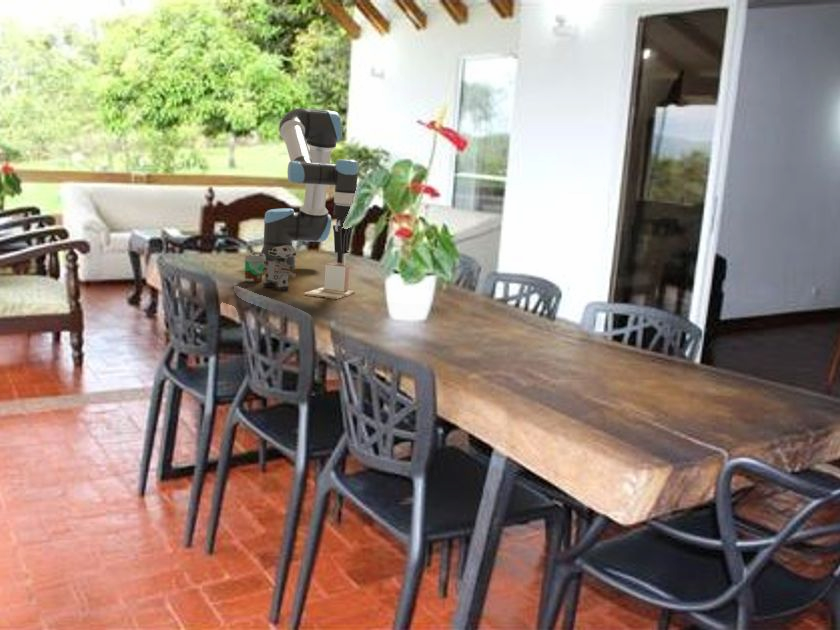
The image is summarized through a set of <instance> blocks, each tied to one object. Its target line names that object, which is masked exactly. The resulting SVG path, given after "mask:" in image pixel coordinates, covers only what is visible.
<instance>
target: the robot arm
mask: <svg viewBox="0 0 840 630" xmlns="http://www.w3.org/2000/svg"><path fill="white" fill-rule="evenodd" d="M340 116H341V115H340V114H339V113H338V112H337V111H334V110H333V111H332V110H328V109H315V108H314V109H313V108H305V107H298V108H294V109H292V110H290V111H288V112H287V113H286V114H285V115H284V116H283V117H282V119H281V120H280V122H279V125H278V126H279V134H280V137H281V139H282V140H283V141H284V143H285V146H286V150H287V154H288V157H289V160H290V161H289V163H288V165H287V179H288V181H289V183H290V182H291V183H293V184H294V183H297V184H301V185H302V184H305V190H304V191H305V192H304V201H303V204H302V205H300V207H299V211H298V212H295V210H294V208H287V207H286V208H283V207H282V208H274V209H273V208H272V209H269V210H267V211H265V213H264V219H263V223H264V226H263V228H264V229H263V244H262V245H263V246H262V249H261V252H260V253H263V254H265V257H266V259H267V258H270V259H271V260H270V259H267V265H268V262H269V261H274V260H275V258H276V257H275V256H272V255H269V253H268V251H269V250H270V249H271V248H274V247H279V246H284V245H290V246H293V242H313V243H318V242H319V243H320V242H321V243H322V242H325V241H326V240H327V239H328V238H329V236H330V233H331V229H333V242H334V243H333V244H334V246H333V247H334V253H335V254H337V255H336V264H340V265H346V261H347V258H346V257H347V254H349V253H350V247H351V240H352V233H353V229H354V225H353V226H352V227H350V228H348V229H344V228H342V227H343V223H344V221H345V218H346V216H347V214H348V211H349V209H350V206H351V204H352V201H353V197H354V194H355V191H356V192H357V190H356V187H357V185H358V177H359V176H358V174H359V163H358V161H357V160H351V159H337V161H336V163H331V157H332V151H333V150H334V149H335V148H336V146H337V143H339V142H341V141H342V137H343V130H342V129H343V127H342V119H341V117H340ZM328 186H335V187H334V197H333V203H334V205H333V216H336V217H337V218H336V223H335V225H334V224H333V225H332V216H331V214H329V210H328V209H327V208H326V201H327V194H328V193H327V192H328ZM331 227H332V228H331ZM295 257H296V256H291V257H287V258H288V259H287V260H286V263H287V265H291V266H292V267H291V269H292V268H295V267H296V262H297V261H296V258H295ZM277 261H282V262H285V260H279V259H277ZM264 262H265V261H264Z"/></svg>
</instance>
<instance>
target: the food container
mask: <svg viewBox="0 0 840 630" xmlns="http://www.w3.org/2000/svg"><path fill="white" fill-rule="evenodd" d="M265 260H266V257H265V254H263V253H261V252H258V251H252V252H251V254H249V255H245V256H244V284H259V283H262V282H263V274H264V269H263V267H264V261H265Z"/></svg>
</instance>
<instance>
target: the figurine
mask: <svg viewBox="0 0 840 630" xmlns="http://www.w3.org/2000/svg"><path fill="white" fill-rule="evenodd" d="M268 253H269V255H272V256H275V257H276V258H275V260H274V261H269V262H268V265H267V259H270V258H267V259H266V260H265V262H264V266H263V270H266V273H265V276H264V281H263V287H264V288H274V287H276V282H277V287H276V290H277V291H278V292H283V291H288V290H289V288H290V287H289V276H291V277H292V278H293V279H295V278H296V275H297V273H298V272H297V271H296V272H295V273H294V272H292V271H291V270H292V268H291V267H292V266H291V265H287V263H286V260H287V259H288V258H287V257H291V256H294V257H296V256H297V253H298V252H297V250H296V249H295V247H294V245H292V246H290V245H284V246H279V247H274V248H271V249H270V250H269V251H268ZM277 259H279V260H285V262H282V261H277ZM270 260H271V259H270Z"/></svg>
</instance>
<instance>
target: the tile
mask: <svg viewBox="0 0 840 630" xmlns="http://www.w3.org/2000/svg"><path fill="white" fill-rule="evenodd" d="M349 274H350V265H348V264H347V265H346V264H345V265H340V264H337V263H331V262H328V263H325V265H324V279H323V280H324V281H323V287H324V289H327V290H334V291H341V292H346V291H348V290H349V280H350V279H349V277H350V276H349Z"/></svg>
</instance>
